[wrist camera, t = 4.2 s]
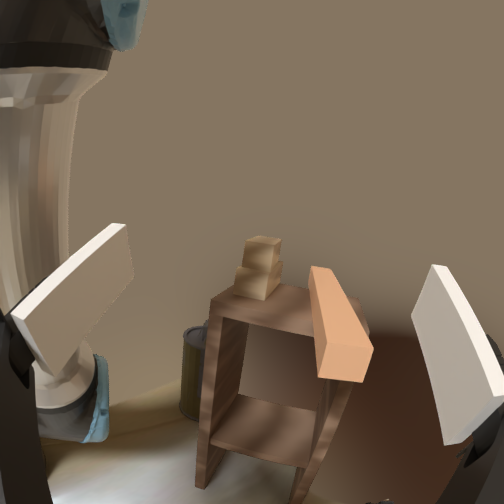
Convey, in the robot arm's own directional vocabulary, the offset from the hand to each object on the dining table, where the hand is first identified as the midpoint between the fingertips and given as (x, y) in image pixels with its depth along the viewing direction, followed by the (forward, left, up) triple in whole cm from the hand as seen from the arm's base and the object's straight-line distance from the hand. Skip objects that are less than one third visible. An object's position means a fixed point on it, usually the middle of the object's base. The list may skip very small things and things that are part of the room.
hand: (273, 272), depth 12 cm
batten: (+3, +19, -7) cm, 21 cm away
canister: (-15, +37, -39) cm, 56 cm away
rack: (0, +22, -39) cm, 45 cm away
